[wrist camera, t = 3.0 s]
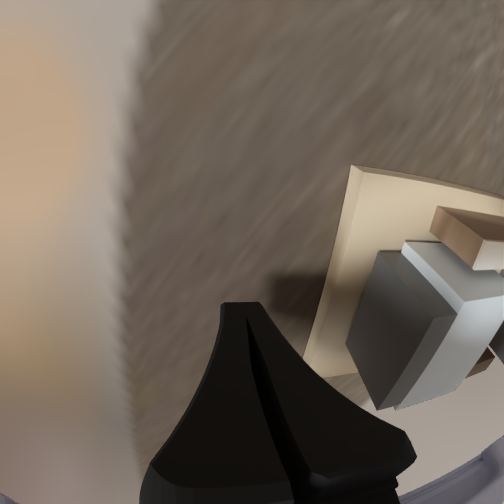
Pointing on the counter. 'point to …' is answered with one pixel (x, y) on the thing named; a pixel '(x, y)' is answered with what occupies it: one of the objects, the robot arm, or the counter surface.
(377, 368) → the light grey block
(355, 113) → the counter surface
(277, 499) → the robot arm
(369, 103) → the counter surface
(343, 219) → the stand
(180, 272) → the counter surface
